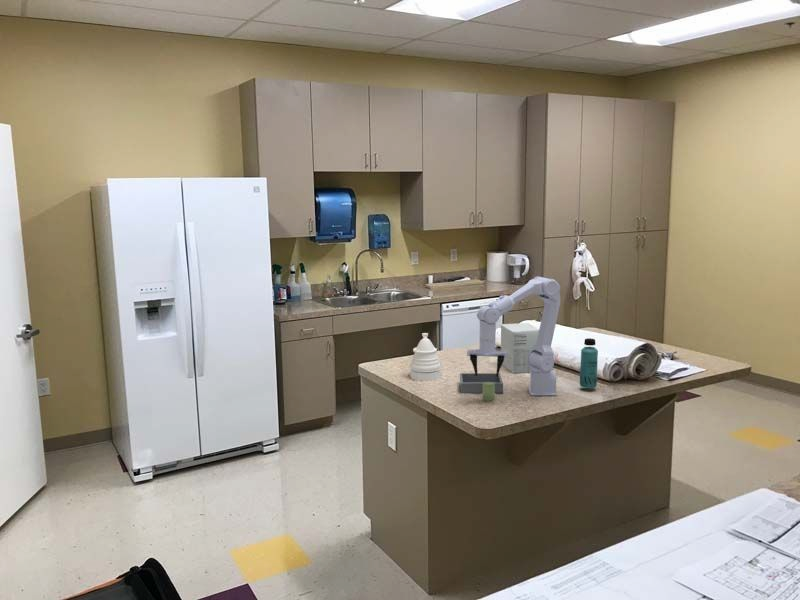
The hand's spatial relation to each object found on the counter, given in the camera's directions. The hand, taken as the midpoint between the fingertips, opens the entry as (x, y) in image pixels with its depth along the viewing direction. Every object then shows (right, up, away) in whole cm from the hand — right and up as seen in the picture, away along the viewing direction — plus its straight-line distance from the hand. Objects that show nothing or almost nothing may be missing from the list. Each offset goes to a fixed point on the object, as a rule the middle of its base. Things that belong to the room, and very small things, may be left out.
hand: (486, 375), depth 239 cm
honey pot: (-21, -5, +34) cm, 40 cm away
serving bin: (0, -7, +17) cm, 18 cm away
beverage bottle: (+41, -7, +12) cm, 43 cm away
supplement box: (+21, -2, +45) cm, 50 cm away
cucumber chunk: (+1, -9, +3) cm, 10 cm away
